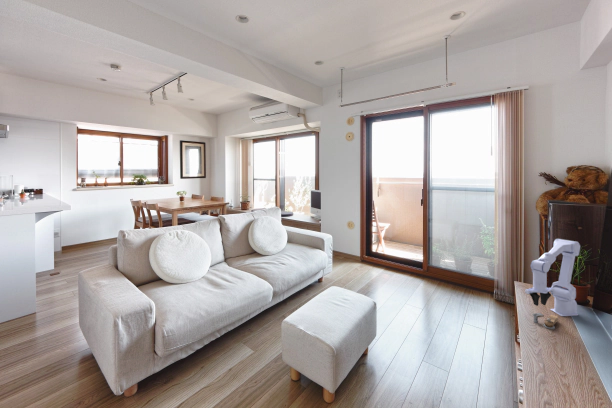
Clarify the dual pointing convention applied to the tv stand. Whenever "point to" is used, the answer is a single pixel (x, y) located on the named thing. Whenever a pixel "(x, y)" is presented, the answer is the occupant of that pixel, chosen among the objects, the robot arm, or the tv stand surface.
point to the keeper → (537, 316)
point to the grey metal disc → (548, 327)
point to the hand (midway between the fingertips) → (539, 304)
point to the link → (551, 320)
